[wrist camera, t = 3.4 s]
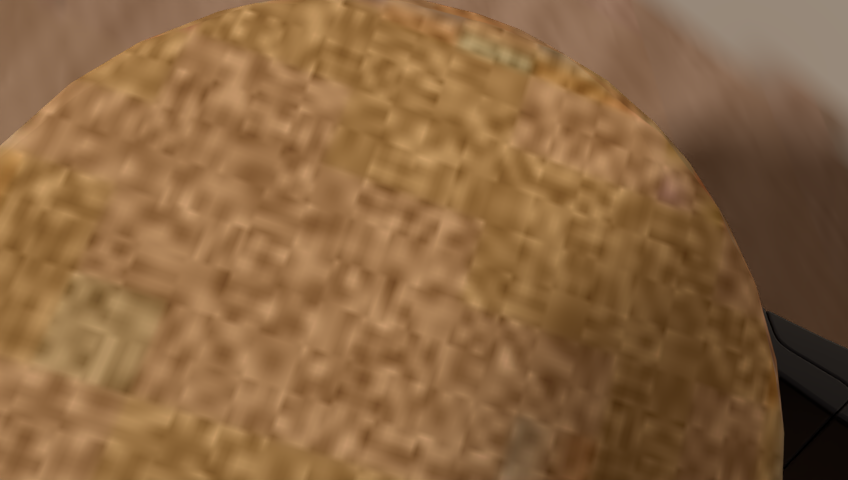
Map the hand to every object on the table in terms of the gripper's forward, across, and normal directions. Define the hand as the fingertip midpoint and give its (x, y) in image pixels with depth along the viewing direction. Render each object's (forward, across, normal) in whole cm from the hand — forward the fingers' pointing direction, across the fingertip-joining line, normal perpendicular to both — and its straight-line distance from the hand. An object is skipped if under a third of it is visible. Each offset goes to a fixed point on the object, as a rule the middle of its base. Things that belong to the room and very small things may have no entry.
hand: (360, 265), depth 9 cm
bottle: (+5, 0, +7) cm, 9 cm away
